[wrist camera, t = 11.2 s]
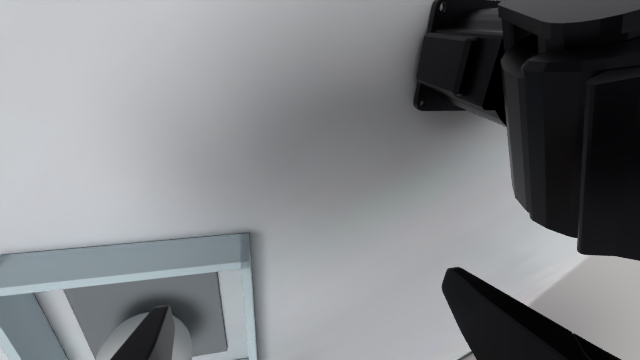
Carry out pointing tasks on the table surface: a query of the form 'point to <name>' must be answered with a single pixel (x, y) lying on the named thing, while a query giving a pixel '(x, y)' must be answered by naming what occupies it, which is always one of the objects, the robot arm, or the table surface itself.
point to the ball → (125, 329)
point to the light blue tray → (107, 282)
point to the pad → (142, 296)
